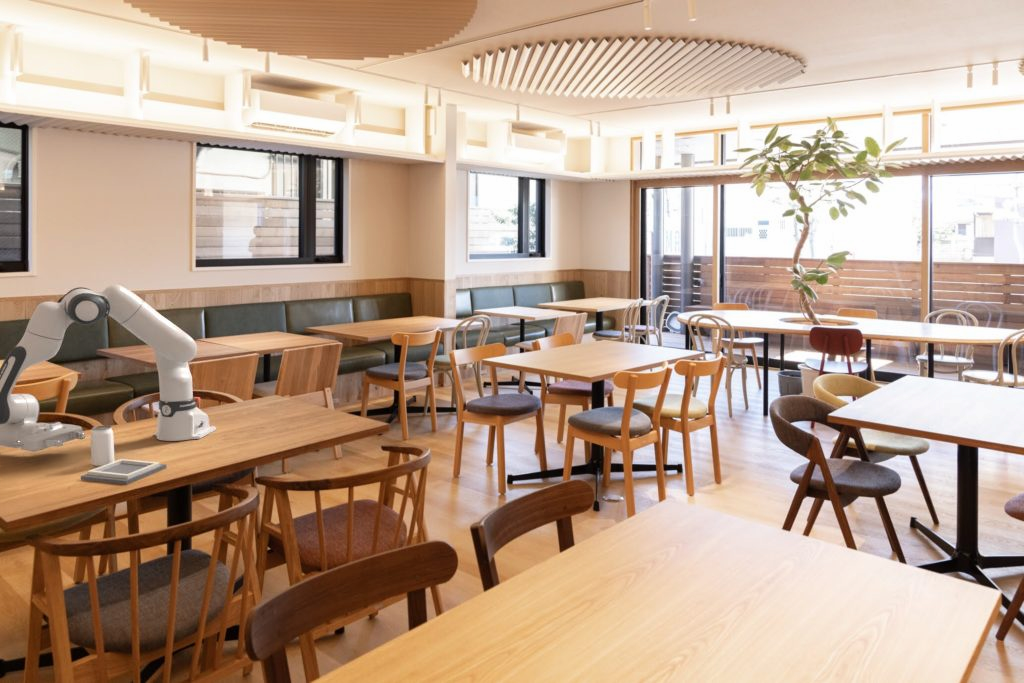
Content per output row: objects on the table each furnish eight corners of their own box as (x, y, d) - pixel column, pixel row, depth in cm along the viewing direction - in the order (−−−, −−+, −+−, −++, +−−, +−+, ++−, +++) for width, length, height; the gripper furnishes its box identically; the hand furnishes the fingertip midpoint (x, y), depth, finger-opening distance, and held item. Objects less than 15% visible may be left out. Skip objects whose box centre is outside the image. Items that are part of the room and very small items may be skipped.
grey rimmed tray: (123, 463, 257) (123, 457, 256) (166, 468, 253) (166, 461, 252) (80, 479, 239) (80, 472, 239) (126, 484, 235) (125, 477, 235)
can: (105, 467, 252) (103, 430, 251) (87, 465, 254) (85, 429, 252) (119, 461, 259) (117, 425, 257) (101, 460, 260) (99, 424, 258)
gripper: (9, 434, 251) (45, 438, 248) (60, 420, 271) (95, 423, 267) (10, 454, 252) (47, 457, 248) (62, 438, 271) (96, 441, 268)
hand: (72, 439), depth 258 cm, fingers open, 8 cm apart
